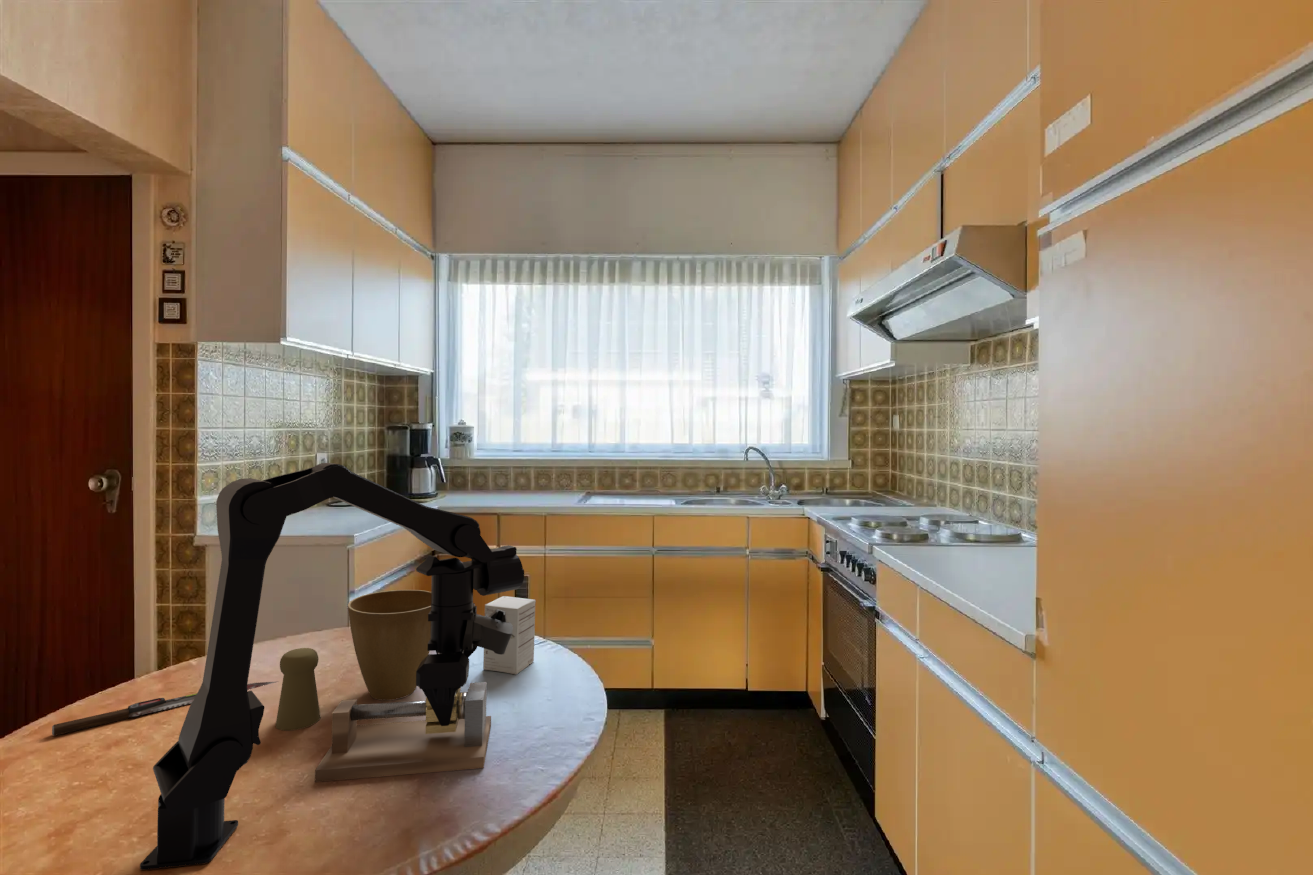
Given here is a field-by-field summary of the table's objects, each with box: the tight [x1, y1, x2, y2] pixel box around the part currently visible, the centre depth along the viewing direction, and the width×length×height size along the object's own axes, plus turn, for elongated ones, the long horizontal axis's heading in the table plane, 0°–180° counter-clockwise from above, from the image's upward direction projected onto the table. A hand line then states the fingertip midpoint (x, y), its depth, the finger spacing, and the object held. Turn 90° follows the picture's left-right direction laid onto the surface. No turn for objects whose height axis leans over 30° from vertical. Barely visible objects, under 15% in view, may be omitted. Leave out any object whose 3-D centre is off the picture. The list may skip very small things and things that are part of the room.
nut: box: [425, 687, 462, 734], centre depth 86 cm, size 5×4×5 cm
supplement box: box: [482, 595, 537, 675], centre depth 117 cm, size 7×7×13 cm
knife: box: [51, 681, 280, 737], centre depth 99 cm, size 3×2×30 cm
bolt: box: [350, 681, 488, 747], centre depth 85 cm, size 6×19×6 cm, turn 101°
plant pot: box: [347, 589, 431, 701], centre depth 105 cm, size 15×15×16 cm
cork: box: [275, 647, 321, 731], centre depth 93 cm, size 6×6×11 cm
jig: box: [314, 699, 492, 783], centre depth 85 cm, size 12×21×7 cm, turn 101°
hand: (450, 709), depth 86 cm, fingers open, 9 cm apart
